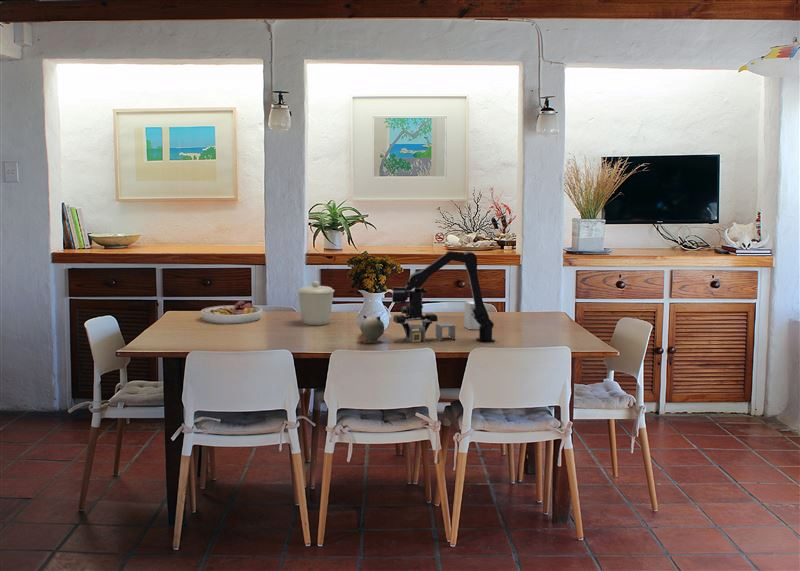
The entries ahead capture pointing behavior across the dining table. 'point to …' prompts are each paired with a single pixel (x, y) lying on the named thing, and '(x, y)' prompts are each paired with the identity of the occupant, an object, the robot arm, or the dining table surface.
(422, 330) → the cover
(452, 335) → the cover
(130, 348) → the dining table surface
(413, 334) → the letter cube
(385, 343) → the dining table surface
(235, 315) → the bowl
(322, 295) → the canister
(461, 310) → the dining table surface
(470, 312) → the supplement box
